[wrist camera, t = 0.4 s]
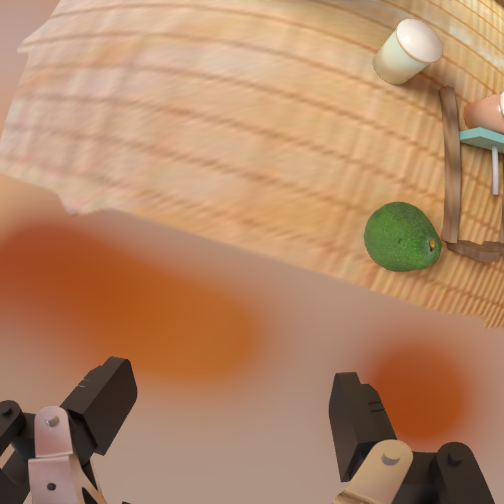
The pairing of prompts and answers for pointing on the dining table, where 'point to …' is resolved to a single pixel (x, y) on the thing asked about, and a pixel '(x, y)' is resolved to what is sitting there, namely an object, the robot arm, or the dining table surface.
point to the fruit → (401, 238)
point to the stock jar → (486, 113)
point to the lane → (452, 189)
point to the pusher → (486, 147)
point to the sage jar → (407, 52)
